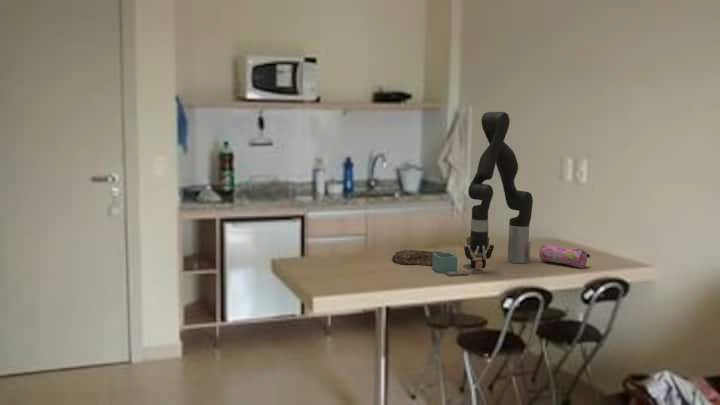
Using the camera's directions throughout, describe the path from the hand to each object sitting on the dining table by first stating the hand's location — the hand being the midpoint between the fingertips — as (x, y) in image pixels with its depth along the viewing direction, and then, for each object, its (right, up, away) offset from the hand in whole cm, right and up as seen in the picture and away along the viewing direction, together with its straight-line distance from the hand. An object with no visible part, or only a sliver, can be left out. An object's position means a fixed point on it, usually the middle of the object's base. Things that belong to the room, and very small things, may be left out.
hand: (477, 268), depth 318 cm
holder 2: (0, -2, 0) cm, 2 cm away
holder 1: (-3, -1, +9) cm, 9 cm away
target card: (-10, -2, -4) cm, 11 cm away
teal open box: (-14, -1, +2) cm, 15 cm away
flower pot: (+5, +3, +35) cm, 35 cm away
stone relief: (-21, +1, +23) cm, 31 cm away
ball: (0, +2, 0) cm, 2 cm away
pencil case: (+42, 0, +19) cm, 46 cm away
